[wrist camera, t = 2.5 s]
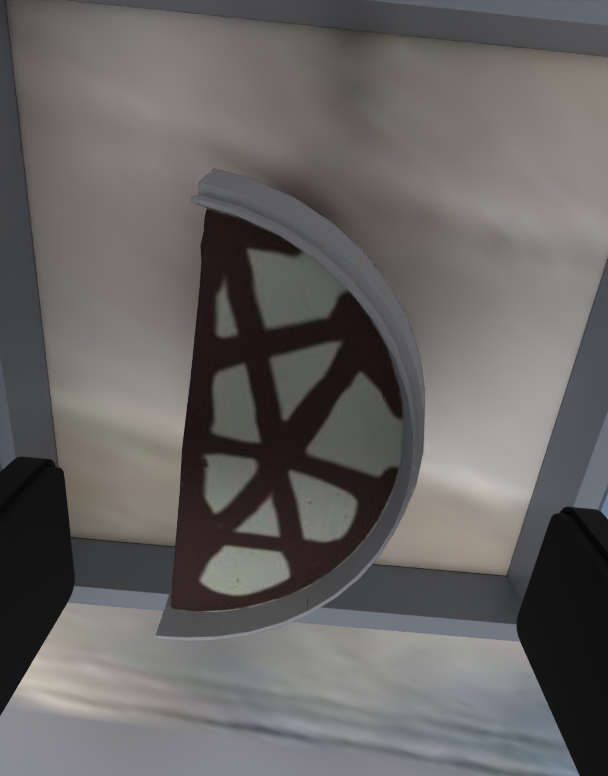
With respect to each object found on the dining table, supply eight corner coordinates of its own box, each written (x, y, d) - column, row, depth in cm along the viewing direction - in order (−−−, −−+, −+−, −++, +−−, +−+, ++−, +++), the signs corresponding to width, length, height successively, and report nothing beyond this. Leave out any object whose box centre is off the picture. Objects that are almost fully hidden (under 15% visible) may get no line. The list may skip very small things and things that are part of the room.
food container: (351, 482, 23) (374, 683, 14) (219, 461, 23) (153, 652, 14) (419, 203, 18) (523, 227, 9) (255, 172, 18) (192, 166, 9)
